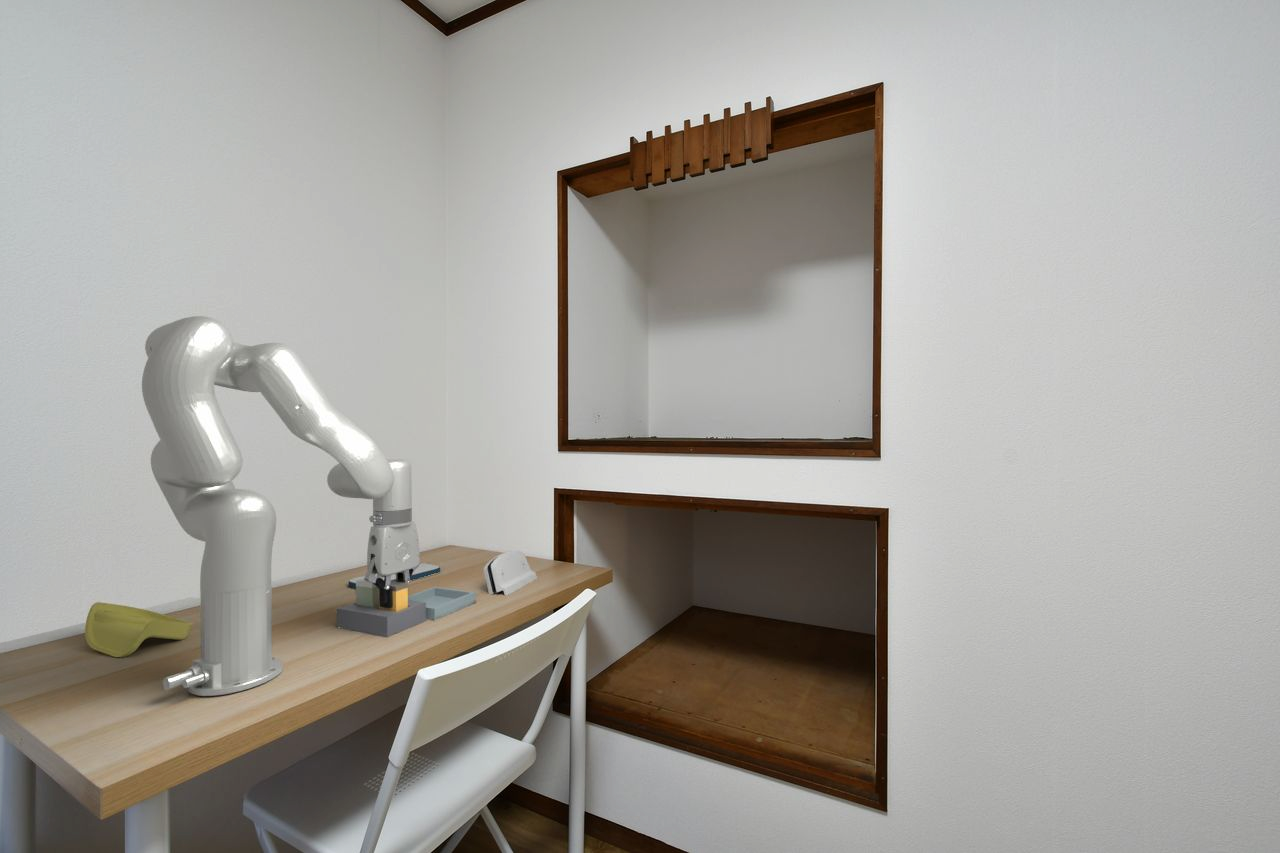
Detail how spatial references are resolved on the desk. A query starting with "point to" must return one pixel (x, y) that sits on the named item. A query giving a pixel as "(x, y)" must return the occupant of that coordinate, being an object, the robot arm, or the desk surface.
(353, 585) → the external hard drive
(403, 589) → the block
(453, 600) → the parts tray
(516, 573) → the grey slotted holder
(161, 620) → the plastic component
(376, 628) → the block
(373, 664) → the desk surface
